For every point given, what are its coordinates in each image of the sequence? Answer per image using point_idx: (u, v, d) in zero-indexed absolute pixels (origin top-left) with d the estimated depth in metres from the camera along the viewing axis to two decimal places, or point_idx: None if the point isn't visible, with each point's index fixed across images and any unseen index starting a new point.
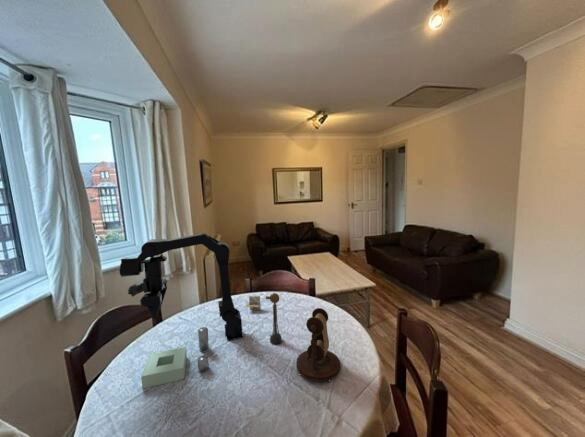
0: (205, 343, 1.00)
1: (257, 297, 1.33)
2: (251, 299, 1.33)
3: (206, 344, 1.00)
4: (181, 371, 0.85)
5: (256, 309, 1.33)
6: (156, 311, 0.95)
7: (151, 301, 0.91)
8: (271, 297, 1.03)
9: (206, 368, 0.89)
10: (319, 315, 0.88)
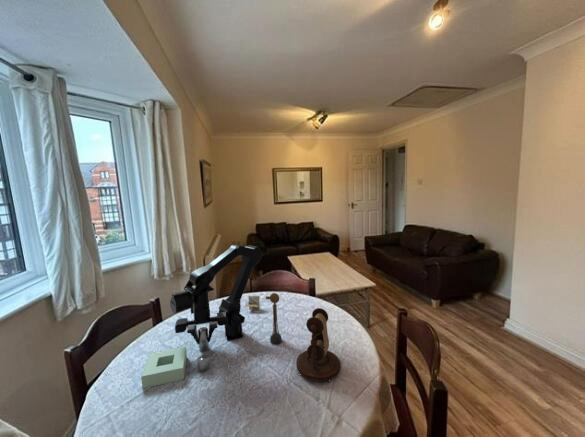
0: (205, 343, 1.00)
1: (256, 297, 1.33)
2: (250, 299, 1.34)
3: (206, 344, 1.00)
4: (181, 371, 0.85)
5: (255, 309, 1.34)
6: None
7: None
8: (271, 297, 1.03)
9: (206, 368, 0.89)
10: (319, 315, 0.88)
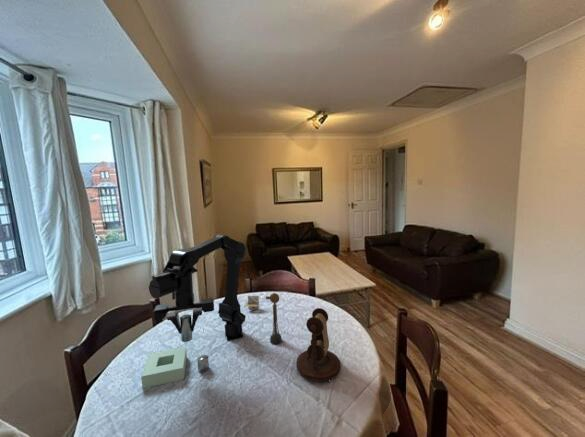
0: (188, 332, 0.88)
1: (256, 297, 1.33)
2: (249, 299, 1.34)
3: (189, 333, 0.89)
4: (181, 371, 0.85)
5: (255, 309, 1.34)
6: None
7: None
8: (271, 297, 1.03)
9: (206, 368, 0.89)
10: (319, 315, 0.88)
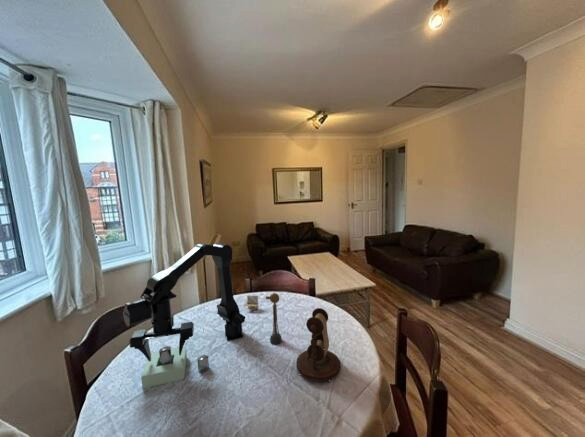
0: None
1: (255, 297, 1.34)
2: (249, 299, 1.34)
3: None
4: (181, 371, 0.85)
5: None
6: None
7: None
8: (271, 297, 1.03)
9: (206, 368, 0.89)
10: (319, 315, 0.88)
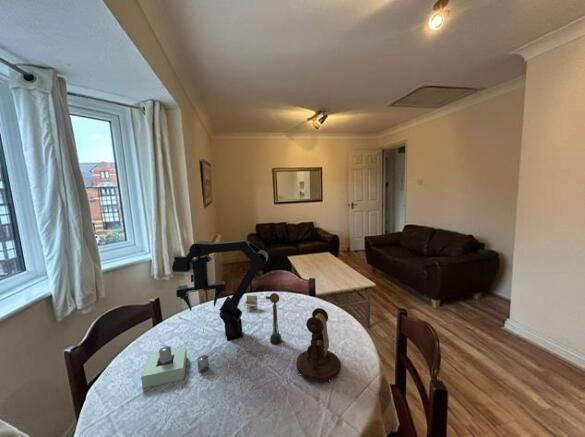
0: None
1: (254, 296, 1.34)
2: (248, 298, 1.35)
3: None
4: (181, 371, 0.85)
5: (253, 308, 1.34)
6: None
7: None
8: (271, 297, 1.03)
9: (206, 368, 0.89)
10: (319, 315, 0.88)
